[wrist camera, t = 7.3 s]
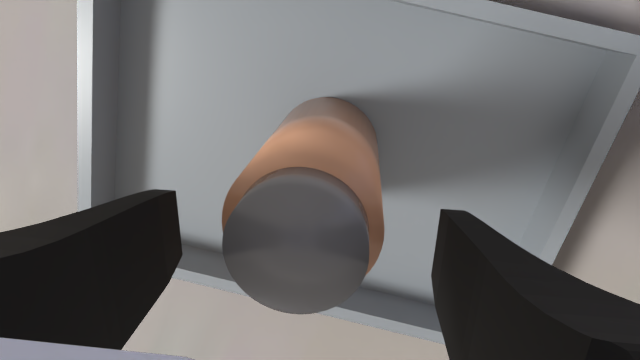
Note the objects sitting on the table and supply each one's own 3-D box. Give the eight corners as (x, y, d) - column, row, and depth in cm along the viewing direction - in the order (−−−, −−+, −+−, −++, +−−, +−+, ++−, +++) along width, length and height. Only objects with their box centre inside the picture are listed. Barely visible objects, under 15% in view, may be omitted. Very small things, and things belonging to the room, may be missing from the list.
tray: (621, 36, 16) (663, 41, 14) (490, 322, 22) (504, 359, 19) (117, -80, 17) (76, -95, 14) (108, 229, 22) (77, 254, 20)
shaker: (377, 94, 17) (386, 165, 9) (378, 193, 19) (386, 328, 11) (272, 99, 18) (192, 169, 10) (281, 195, 20) (220, 324, 11)
